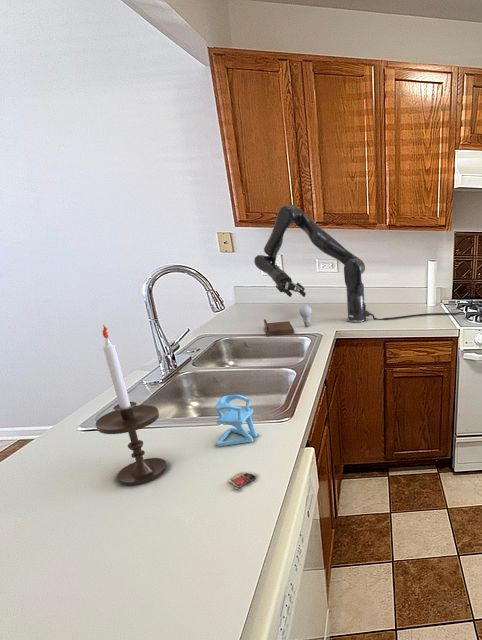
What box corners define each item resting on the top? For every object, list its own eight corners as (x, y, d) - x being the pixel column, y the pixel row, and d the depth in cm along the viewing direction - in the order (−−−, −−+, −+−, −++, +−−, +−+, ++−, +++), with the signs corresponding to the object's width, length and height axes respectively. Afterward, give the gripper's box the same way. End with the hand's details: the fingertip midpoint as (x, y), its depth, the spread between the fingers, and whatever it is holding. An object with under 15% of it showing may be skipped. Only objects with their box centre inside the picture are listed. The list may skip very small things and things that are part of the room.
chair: (249, 447, 101) (242, 404, 96) (215, 446, 100) (207, 404, 96) (260, 431, 108) (255, 391, 104) (230, 430, 108) (223, 390, 103)
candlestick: (176, 474, 90) (141, 325, 77) (117, 495, 83) (67, 335, 70) (165, 453, 97) (131, 314, 85) (110, 471, 90) (64, 322, 78)
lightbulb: (308, 328, 200) (306, 307, 196) (298, 327, 202) (296, 306, 199) (315, 325, 206) (314, 305, 202) (306, 324, 208) (304, 303, 204)
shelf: (289, 325, 204) (288, 317, 203) (294, 333, 192) (293, 324, 190) (264, 328, 199) (263, 319, 198) (267, 336, 187) (266, 327, 185)
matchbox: (258, 476, 89) (257, 474, 89) (240, 490, 85) (240, 488, 85) (241, 471, 91) (241, 470, 91) (223, 485, 86) (223, 483, 86)
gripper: (271, 271, 204) (288, 289, 198) (294, 272, 216) (311, 289, 210) (267, 284, 207) (284, 301, 201) (290, 284, 219) (307, 301, 213)
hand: (298, 295), depth 205 cm, fingers open, 8 cm apart
